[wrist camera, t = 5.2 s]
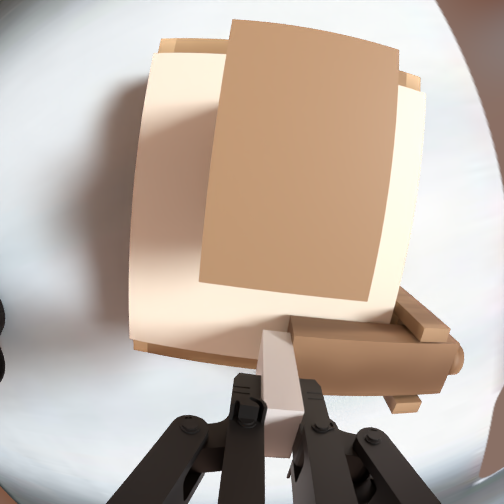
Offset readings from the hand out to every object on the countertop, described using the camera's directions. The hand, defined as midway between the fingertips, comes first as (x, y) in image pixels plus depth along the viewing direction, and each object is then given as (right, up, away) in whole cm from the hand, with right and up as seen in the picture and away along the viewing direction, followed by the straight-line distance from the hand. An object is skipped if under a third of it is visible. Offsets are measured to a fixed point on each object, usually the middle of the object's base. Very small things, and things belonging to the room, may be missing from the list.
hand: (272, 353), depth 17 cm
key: (+6, 0, +1) cm, 6 cm away
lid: (0, +8, +1) cm, 8 cm away
